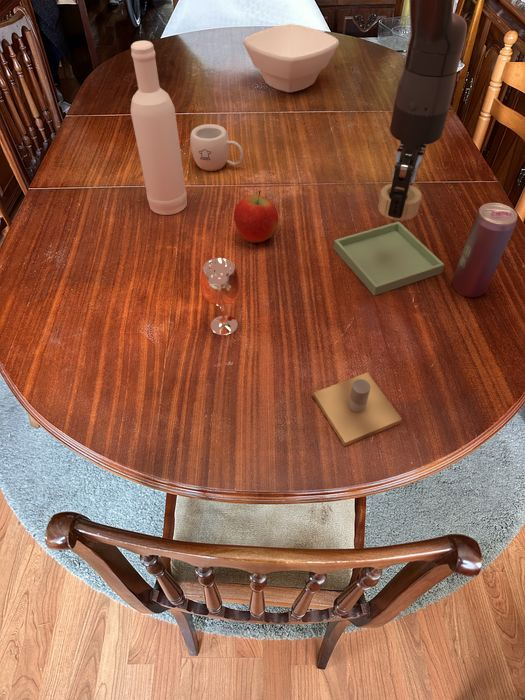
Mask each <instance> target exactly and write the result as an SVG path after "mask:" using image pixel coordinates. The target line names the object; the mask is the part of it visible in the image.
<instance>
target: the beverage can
mask: <svg viewBox="0 0 525 700" xmlns="http://www.w3.org/2000/svg"><path fill="white" fill-rule="evenodd" d="M517 220H518V213H517V212H516V210H515V209H513V208H512V207H511V206H508V205H507V204H504V203H500V202H499V203H498V202H488V203H484V204H482V205H481V206H480V207H479V208H478V211H477V212H476V213H475V216H474V218H473V222H472V224H471V226H470V229H469V232H468V235H467V237H466V240H465V242H464V245H463V248H462V250H461V254H460V257H459V259H458V263H457V265H456V267H455V271H454V273H453V276H452V279H451V284H452V287H453V289H454V290H455V292H456V293H458V295H462V296H464V297H467V298H477V297H481V296H482V295H484V294H485V293H487V291H488V290H489V287H490V285H491V282H492V280H493V278H494V276H495V273H496V272H497V268H498V266H499V264H500V261H501V259H502V257H503V255H504V253H505V250H506V248H507V246H508V244H509V241H510V239H511V237H512V235H513V232H514V230H515V228H516V225H517Z"/></svg>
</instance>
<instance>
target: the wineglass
mask: <svg viewBox="0 0 525 700" xmlns="http://www.w3.org/2000/svg"><path fill="white" fill-rule="evenodd" d="M201 270H202V271H201V274H200V275H201V276H200V288H201V293H202V295H203V297H204V299H205V300H206V301H207V302H208V303H209V304H210V305H213V306H218V307H219V309H220V311H221V312H220V313H221V315H219V316H216V317H214V318H213V319H212V320H211V322H210V326H209V327H210V330H211V331H212V332H213V333H214V334H215V335H218V336H228V335H231V334H234V333H235V332H236V331H237V329H238V327H239V323H238V321H237V319H236V318H235V317H233V316H231V315H227V314H226V315H225V310H226V306H228V305H230V304H232V303H233V302H234V301H235V300H236V299H237V298H238V296H239V294H240V290H241V289H240V287H241V285H240V284H241V282H240V278H239V274H238V270H237V268H236V265H235V263H234V262H233V261H232V260H230V259H228V258H224V257H215V258H211V259H208V260H207V261H206V262H204V264H203V266H202V269H201Z"/></svg>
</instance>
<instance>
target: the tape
mask: <svg viewBox="0 0 525 700" xmlns="http://www.w3.org/2000/svg"><path fill="white" fill-rule="evenodd" d="M391 186H392V182H391V183H388V184H386V185H384V186H383V187H382V188H381V190H380V194H379V199H378V204H377V207H378V212H379V213H380V214H381V215H382V216H383V217H385V218H387V219H390V220H394V221H408V220H411V219H413V218H415V217H416V215H418V212H419V208H420V205H421V202H422V197H423V196H422V192H421V191H420V190H419V189H418V188H417V187H416V186H414V185H413V184H412V185H410V188H409V192H408V193H409V195H408V197H407V199H406V201H405V206H404V210H403V214H402V217H401V218H395V217H390V216H389V215H388V211H389V207H390V202H391V199H390V198H389V193H390V191H391ZM396 189H401V190H404V188H400V187H396Z"/></svg>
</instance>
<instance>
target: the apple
mask: <svg viewBox="0 0 525 700" xmlns="http://www.w3.org/2000/svg"><path fill="white" fill-rule="evenodd" d="M261 191H262V190H259V191H258V195H257V194H255V195H254V194H251V195H247V196H245V197H243V198H242V199H241V200H239V202H238V203H237V204H236V206H235V208H234V211H233V220H234V225H235V227H236V229H237V231H238V233H239V235H240V236H241V237H242V238H243V239H244V240H245V241H247V242H249V243H254V244H255V243H261V242H265V241H267V240H269V239H270V238H272V236H273V235H274V234H275V232H276V231H277V229H278V226H279V214H278V210H277V207H276V206H275V204H274V203H273V202H272V201H271V200H270V199H268V198H267V197H266V196H263V195H261Z"/></svg>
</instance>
